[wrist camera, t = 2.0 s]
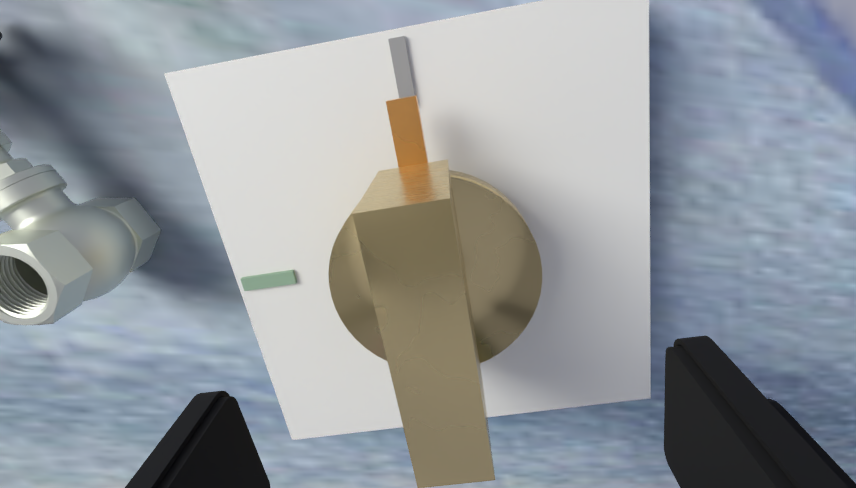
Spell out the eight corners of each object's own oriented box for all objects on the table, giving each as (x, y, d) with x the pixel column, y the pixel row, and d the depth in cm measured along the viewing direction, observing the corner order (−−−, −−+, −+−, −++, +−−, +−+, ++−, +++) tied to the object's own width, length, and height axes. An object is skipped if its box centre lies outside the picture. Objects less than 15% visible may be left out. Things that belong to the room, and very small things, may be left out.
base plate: (627, 361, 25) (652, 400, 22) (308, 400, 27) (291, 443, 24) (618, -8, 19) (651, -22, 16) (202, 72, 20) (161, 73, 17)
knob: (539, 335, 21) (588, 470, 14) (366, 358, 22) (330, 497, 15) (512, 75, 17) (561, 80, 10) (303, 112, 18) (213, 142, 11)
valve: (202, 232, 23) (20, 2, 20) (115, 291, 17) (-171, -28, 14) (107, 290, 25) (-79, 84, 21) (-4, 364, 19) (-293, 92, 15)
